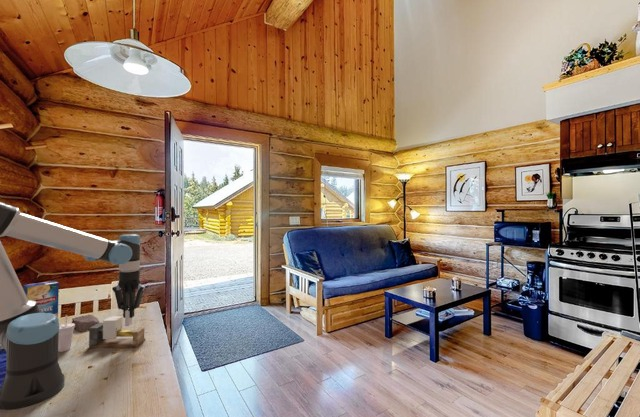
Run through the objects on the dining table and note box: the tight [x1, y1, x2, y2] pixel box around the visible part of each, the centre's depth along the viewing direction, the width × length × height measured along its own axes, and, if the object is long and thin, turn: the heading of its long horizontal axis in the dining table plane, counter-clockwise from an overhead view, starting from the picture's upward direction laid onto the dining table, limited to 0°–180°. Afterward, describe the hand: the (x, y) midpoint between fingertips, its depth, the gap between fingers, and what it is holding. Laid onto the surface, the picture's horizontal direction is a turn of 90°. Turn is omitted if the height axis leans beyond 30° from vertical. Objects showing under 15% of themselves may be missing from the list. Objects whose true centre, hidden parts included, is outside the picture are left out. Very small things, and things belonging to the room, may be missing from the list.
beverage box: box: [23, 280, 60, 318], centre depth 138 cm, size 7×11×22 cm, turn 146°
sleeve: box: [102, 315, 124, 339], centre depth 126 cm, size 5×5×8 cm
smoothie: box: [58, 314, 75, 353], centre depth 120 cm, size 6×6×14 cm
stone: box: [71, 314, 100, 332], centre depth 144 cm, size 9×12×5 cm
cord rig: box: [88, 322, 146, 349], centre depth 126 cm, size 20×7×8 cm, turn 93°
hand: (128, 324), depth 126 cm, fingers closed
